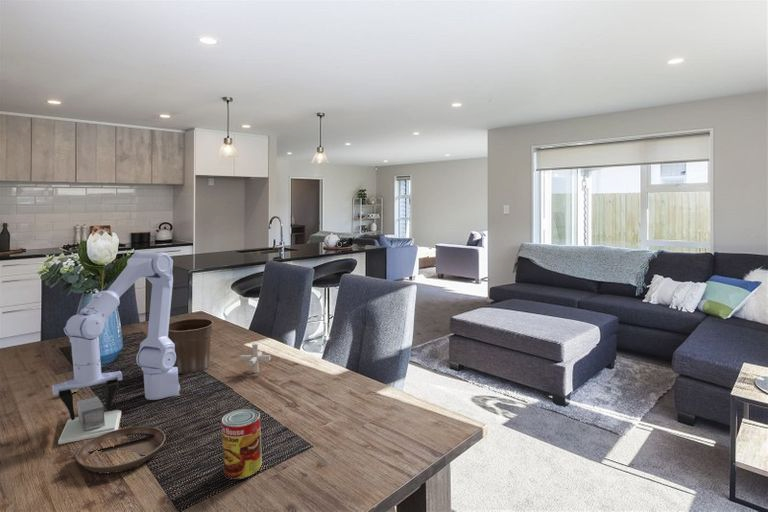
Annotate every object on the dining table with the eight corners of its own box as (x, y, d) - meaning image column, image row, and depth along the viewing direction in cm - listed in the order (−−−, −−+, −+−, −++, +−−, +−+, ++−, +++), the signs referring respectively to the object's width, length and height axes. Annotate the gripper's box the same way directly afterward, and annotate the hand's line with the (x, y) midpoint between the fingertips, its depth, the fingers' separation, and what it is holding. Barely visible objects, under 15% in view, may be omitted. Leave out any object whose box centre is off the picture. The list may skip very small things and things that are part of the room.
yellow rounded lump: (78, 393, 138) (68, 397, 136) (72, 390, 140) (62, 394, 137) (78, 384, 138) (68, 388, 135) (72, 381, 139) (62, 384, 136)
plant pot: (204, 377, 151) (201, 330, 149) (156, 377, 151) (153, 330, 149) (222, 360, 167) (220, 318, 165) (179, 360, 167) (177, 318, 165)
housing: (105, 426, 112) (103, 407, 111) (83, 432, 109) (82, 412, 108) (98, 413, 119) (97, 395, 118) (78, 419, 116) (76, 400, 115)
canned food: (216, 471, 97) (214, 418, 95) (247, 455, 103) (245, 405, 102) (238, 485, 92) (235, 429, 91) (269, 467, 98) (267, 415, 97)
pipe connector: (266, 377, 150) (265, 348, 149) (236, 377, 150) (235, 348, 149) (274, 367, 160) (273, 339, 159) (246, 366, 160) (245, 339, 159)
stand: (121, 417, 122) (121, 408, 122) (117, 437, 111) (116, 427, 111) (68, 426, 117) (67, 417, 116) (58, 449, 106) (57, 439, 106)
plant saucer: (178, 436, 112) (177, 424, 112) (143, 478, 95) (142, 465, 94) (106, 437, 112) (105, 426, 111) (57, 481, 94) (56, 467, 94)
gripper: (116, 351, 120) (120, 400, 121) (49, 364, 110) (54, 416, 112) (122, 358, 114) (126, 409, 116) (52, 372, 105) (57, 427, 106)
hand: (91, 413), depth 113 cm, fingers open, 7 cm apart
